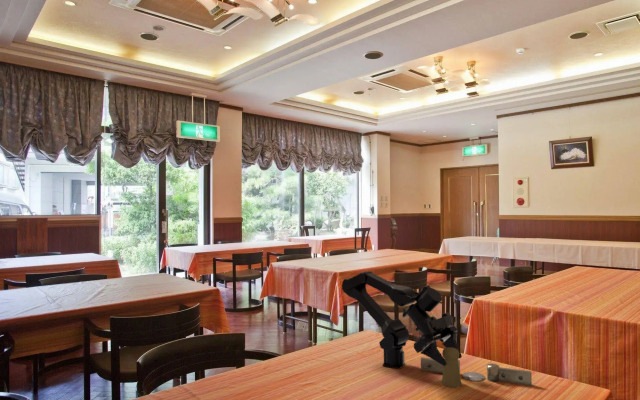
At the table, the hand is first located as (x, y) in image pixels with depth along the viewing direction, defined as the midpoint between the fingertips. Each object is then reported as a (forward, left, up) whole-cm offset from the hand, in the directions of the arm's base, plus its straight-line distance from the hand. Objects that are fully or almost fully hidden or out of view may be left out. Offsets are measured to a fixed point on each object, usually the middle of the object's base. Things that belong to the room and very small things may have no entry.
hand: (453, 361), depth 131 cm
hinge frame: (+5, +8, -7) cm, 12 cm away
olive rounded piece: (-1, 0, -7) cm, 7 cm away
